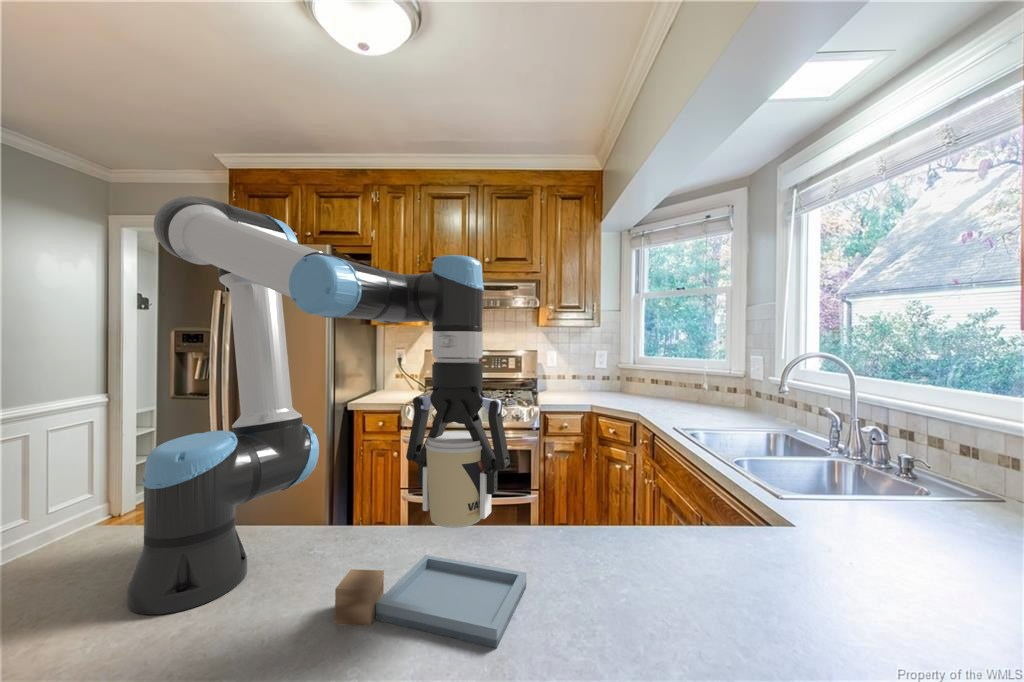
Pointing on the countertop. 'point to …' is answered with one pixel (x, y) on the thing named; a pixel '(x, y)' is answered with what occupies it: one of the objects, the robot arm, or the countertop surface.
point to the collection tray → (454, 599)
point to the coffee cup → (454, 479)
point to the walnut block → (358, 597)
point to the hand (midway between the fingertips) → (456, 511)
